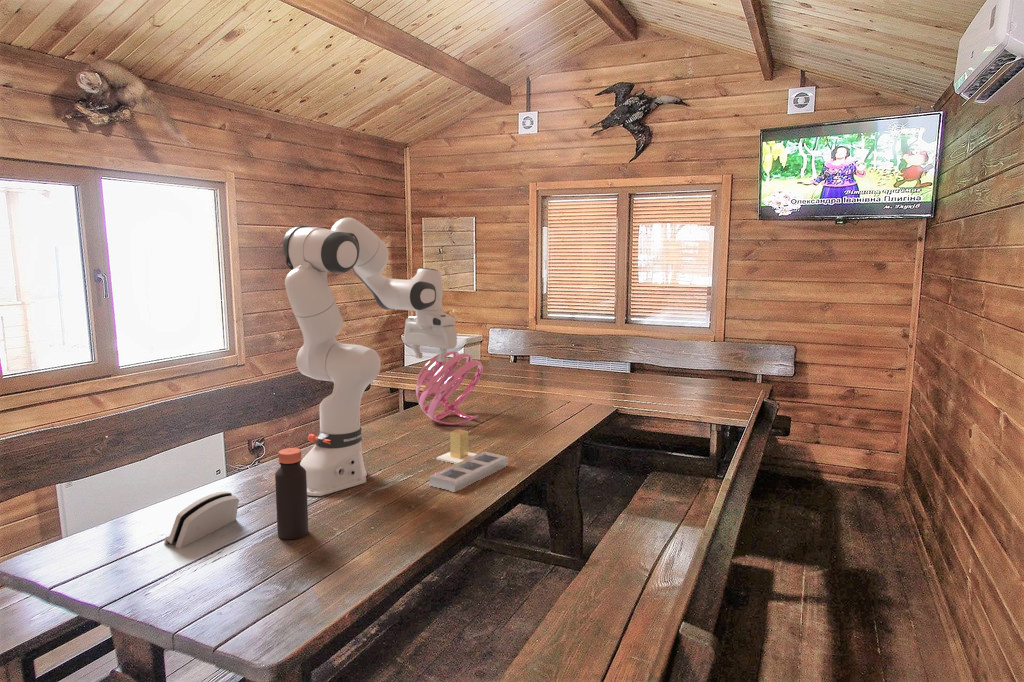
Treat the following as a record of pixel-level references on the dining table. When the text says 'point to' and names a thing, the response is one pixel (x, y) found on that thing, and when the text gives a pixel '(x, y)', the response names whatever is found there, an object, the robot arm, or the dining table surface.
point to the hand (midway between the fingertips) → (429, 359)
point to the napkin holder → (203, 518)
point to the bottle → (291, 495)
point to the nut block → (458, 443)
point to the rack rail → (468, 471)
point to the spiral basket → (446, 386)
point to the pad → (447, 458)
